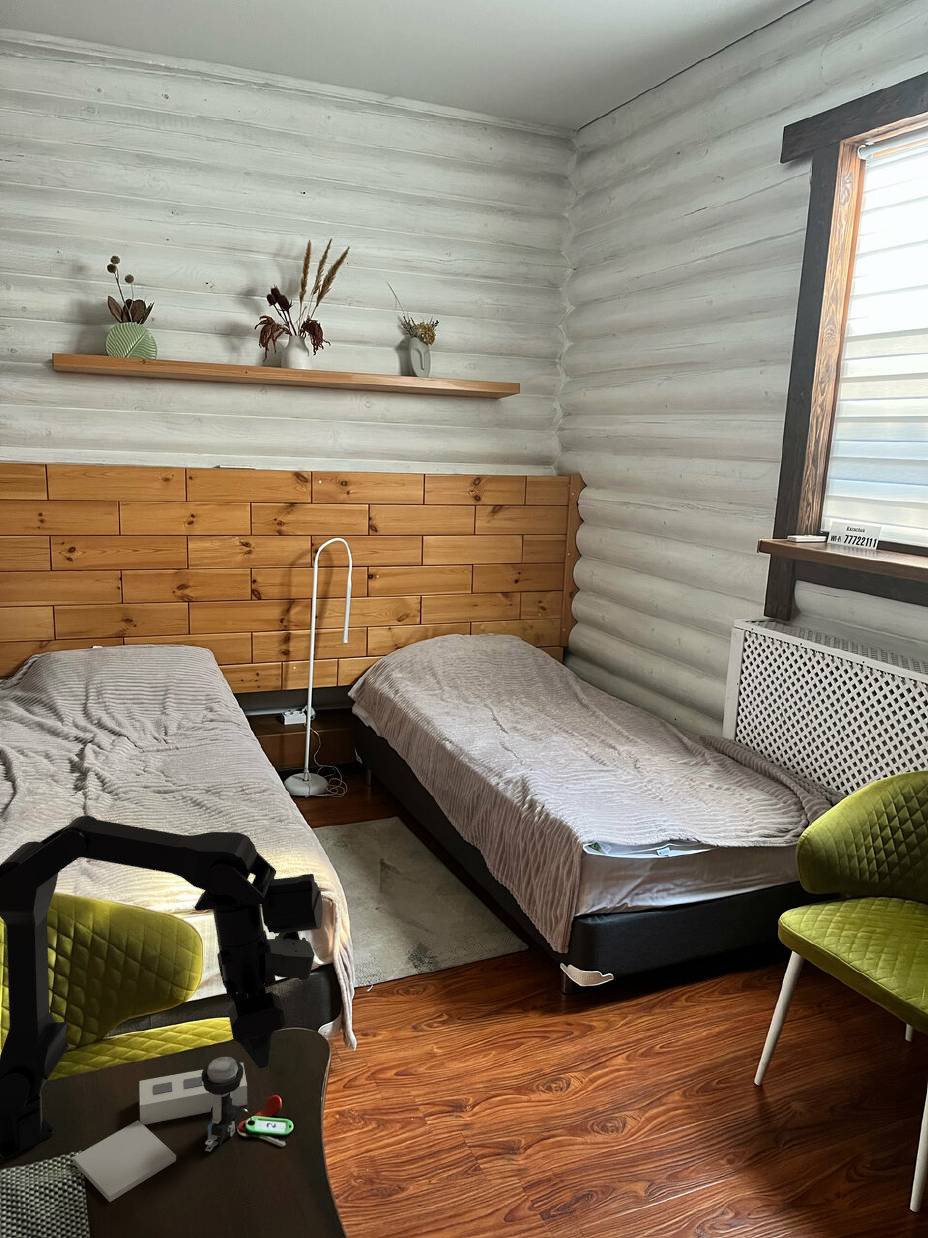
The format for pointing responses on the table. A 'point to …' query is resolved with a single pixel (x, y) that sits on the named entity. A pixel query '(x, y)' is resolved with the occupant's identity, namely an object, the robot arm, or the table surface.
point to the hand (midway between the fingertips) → (258, 1045)
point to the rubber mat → (124, 1160)
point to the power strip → (180, 1096)
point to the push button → (222, 1098)
